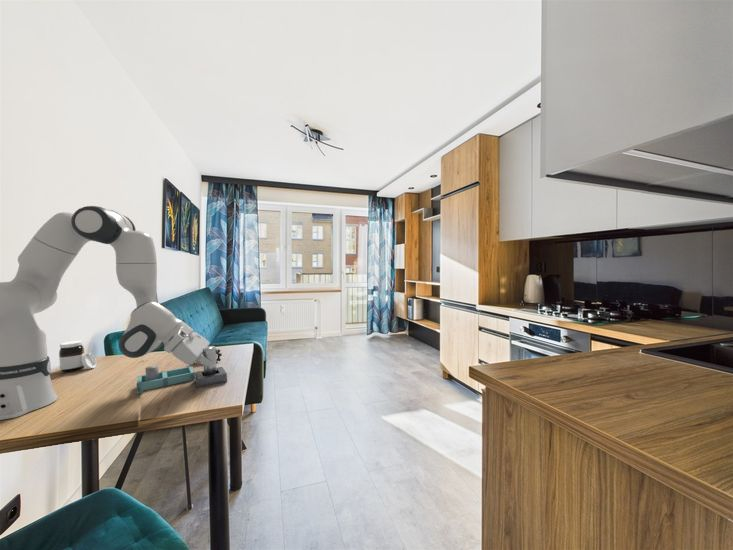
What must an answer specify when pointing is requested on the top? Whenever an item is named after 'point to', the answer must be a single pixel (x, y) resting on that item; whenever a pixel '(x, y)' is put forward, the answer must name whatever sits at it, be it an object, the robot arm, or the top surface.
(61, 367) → the spread jar
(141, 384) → the rack
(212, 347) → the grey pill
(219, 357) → the valve
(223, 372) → the socket block
